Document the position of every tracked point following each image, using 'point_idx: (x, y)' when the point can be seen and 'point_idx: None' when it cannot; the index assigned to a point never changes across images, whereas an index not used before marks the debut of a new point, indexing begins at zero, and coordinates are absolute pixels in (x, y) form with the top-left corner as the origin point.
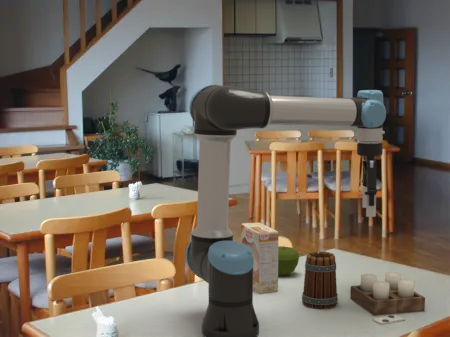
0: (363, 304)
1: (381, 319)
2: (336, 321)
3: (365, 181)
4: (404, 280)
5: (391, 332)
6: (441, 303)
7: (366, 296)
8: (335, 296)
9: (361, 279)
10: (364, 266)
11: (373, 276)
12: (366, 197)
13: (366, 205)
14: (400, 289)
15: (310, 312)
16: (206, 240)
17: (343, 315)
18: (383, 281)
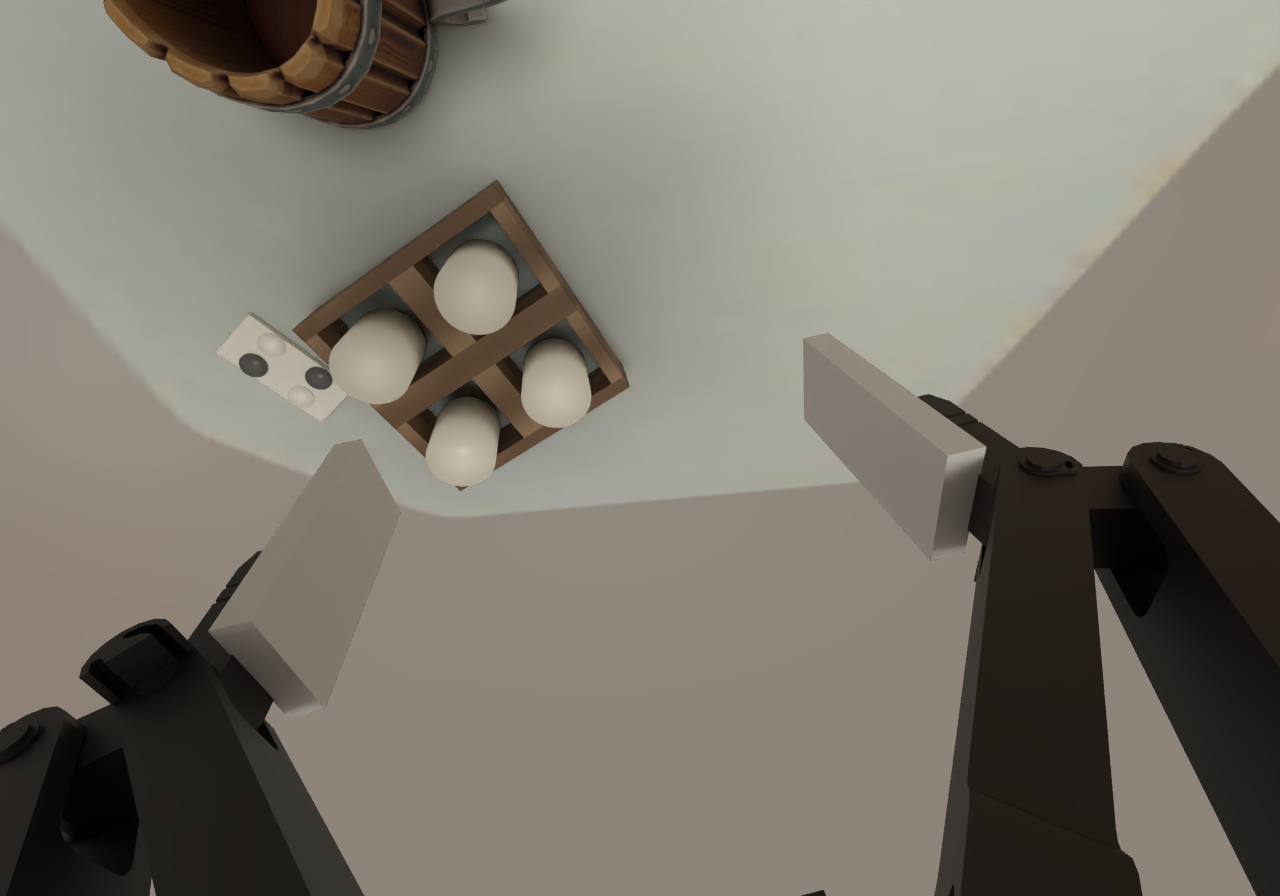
0: (385, 260)
1: (259, 349)
2: (121, 158)
3: (985, 559)
4: (469, 451)
5: (157, 394)
6: (572, 497)
7: (353, 287)
8: (321, 119)
9: (452, 257)
10: (1020, 181)
11: (473, 320)
12: (257, 587)
13: (290, 516)
14: (435, 426)
15: None
16: None
17: (233, 181)
18: (406, 375)
